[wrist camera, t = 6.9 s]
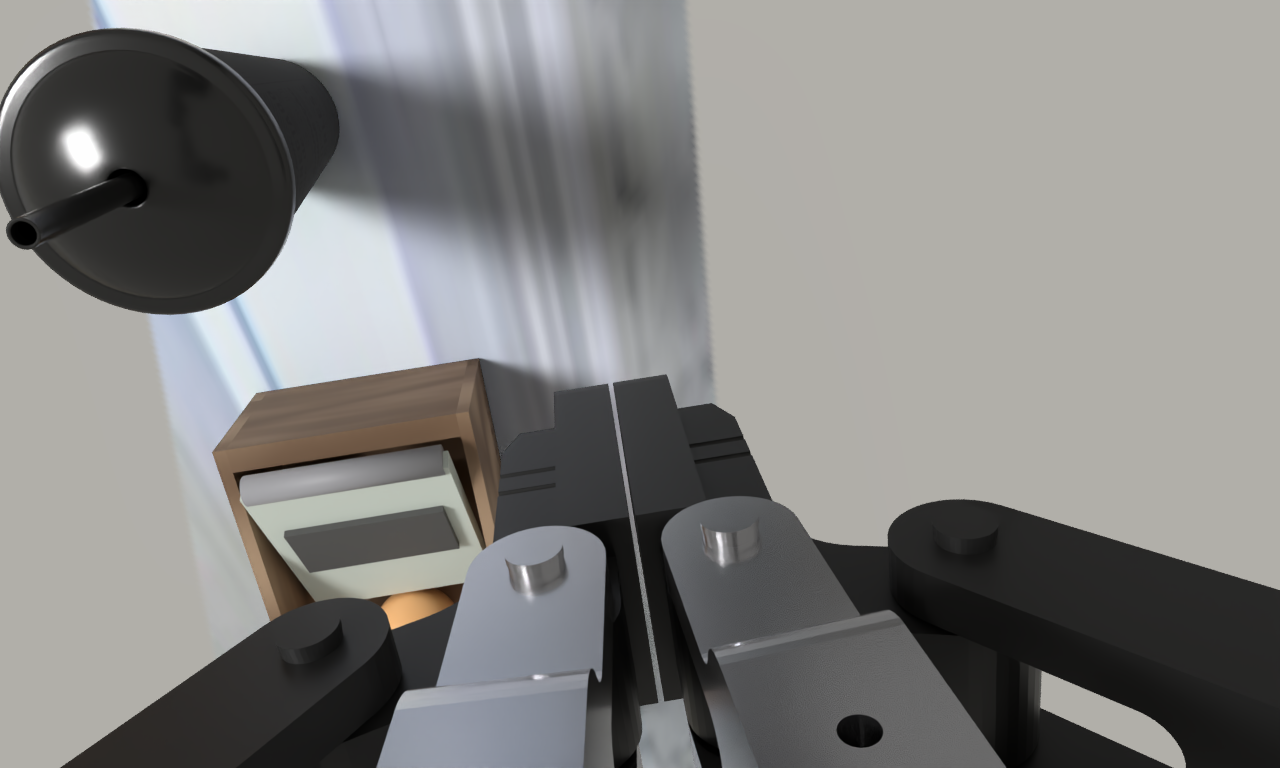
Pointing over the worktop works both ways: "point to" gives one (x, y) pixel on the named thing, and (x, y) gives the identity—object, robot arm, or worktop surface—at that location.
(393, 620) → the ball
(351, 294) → the worktop surface
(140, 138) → the drinking cup
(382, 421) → the bin
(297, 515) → the flap
